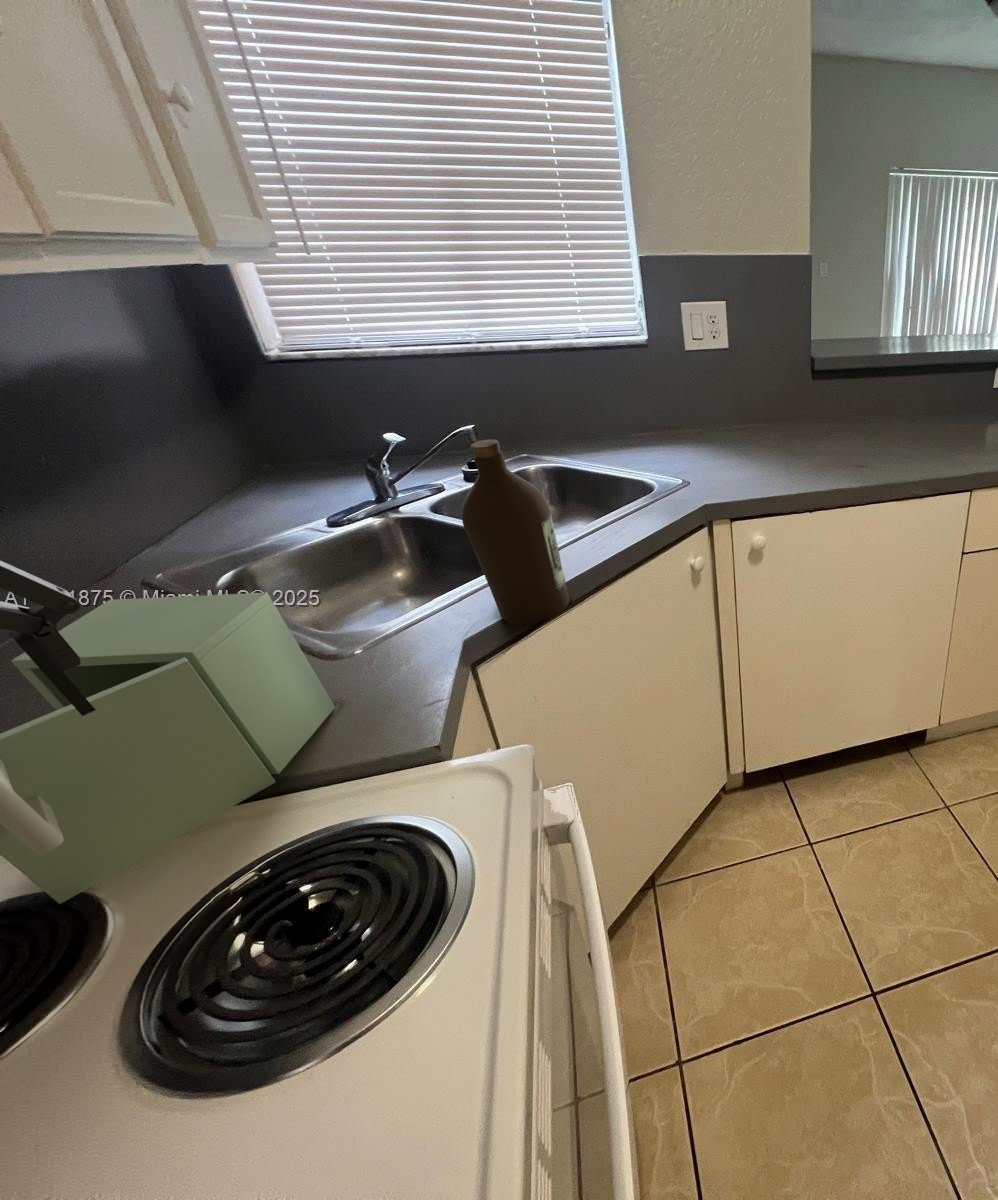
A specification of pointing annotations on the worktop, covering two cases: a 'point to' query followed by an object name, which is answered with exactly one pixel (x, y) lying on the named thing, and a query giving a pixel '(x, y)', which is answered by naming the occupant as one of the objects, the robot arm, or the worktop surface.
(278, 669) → the cupboard
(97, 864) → the cupboard door
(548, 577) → the olive oil
